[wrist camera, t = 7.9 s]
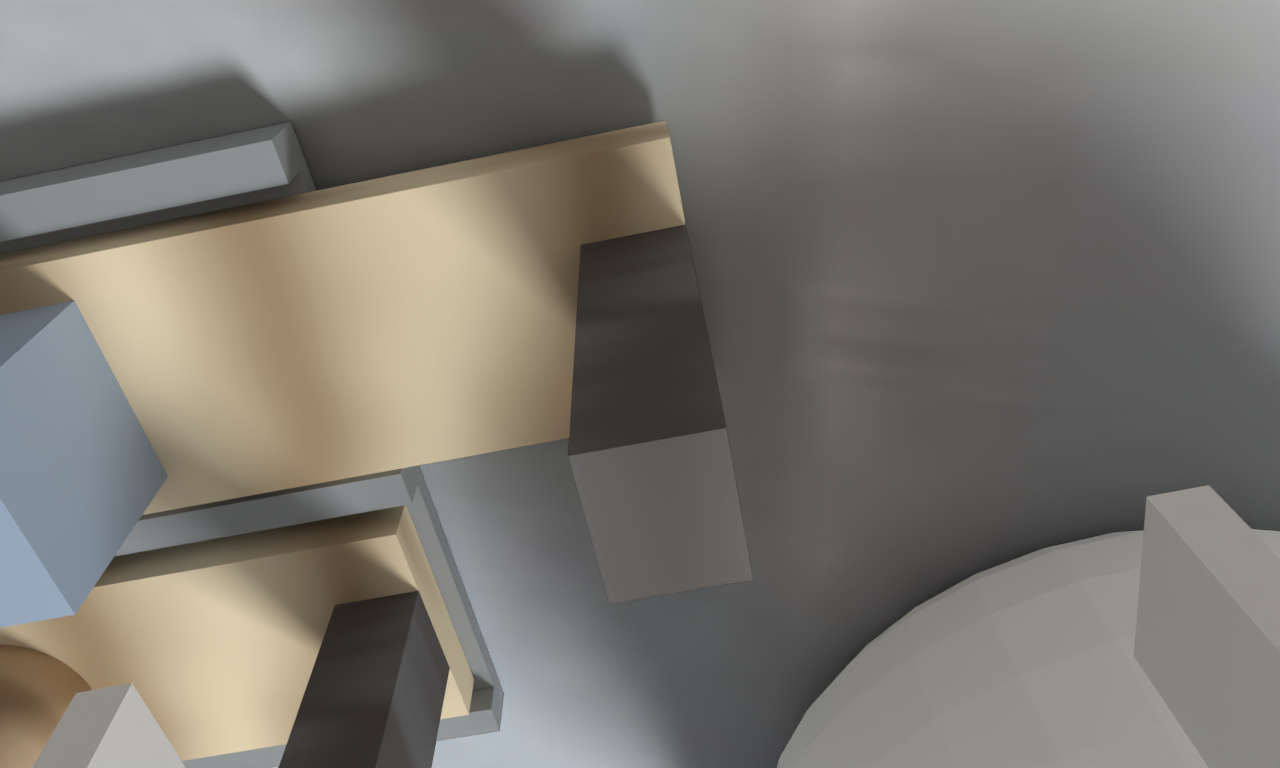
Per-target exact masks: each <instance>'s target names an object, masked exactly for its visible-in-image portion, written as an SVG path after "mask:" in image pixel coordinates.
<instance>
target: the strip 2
mask: <svg viewBox="0 0 1280 768" xmlns="http://www.w3.org/2000/svg"><path fill="white" fill-rule="evenodd" d="M0 644H4V645H14V646H21V647H25V648H29V649H33V650H36V651H39V652H42V653H45V654H47V655H49V656H52V657H54V658H56V659H58V660H59V661H61V662H63V663H65V664H66V665H68V666H69V667H71V668H72V669H73V670H75V671H76V672H77V673H78V674H79V675H80V676H81V677H82V678H83V679H84V680H85V681H86V682H87V683H88V685H89V686H90V687H91V689H92V690H96V689H101V688H107V687H112V686H117V685H123V684H128V683H133V685H134V687H135V688H136V690H137V691H138V693H139V695H140V696H141V698H142V699H143V701H144V702H145V704H146V706H147V707H148V709H149V710H150V712H151V713H152V715H153V717H154V718H155V720H156V721H157V723H158V725H159V726H160V728H161V729H162V731H163V732H164V734H165V736H166V737H167V739H168V740H169V742H170V744H171V745H172V747H173V748H174V750H175V751H176V753H177V755H178V756H179V758H180V759H181V761H185V760H191V759H197V758H204V757H210V756H216V755H222V754H228V753H235V752H241V751H247V750H253V749H259V748H266V747H272V746H278V745H284V744H287V745H286V747H285V750H284V753H283V756H282V759H281V762H280V765H279V768H431V766H432V761H433V756H434V750H435V745H436V739H437V734H438V729H439V723H440V719H446V718H452V717H458V716H464V715H469V710H470V703H471V697H472V690H473V684H474V678H473V675H472V673H471V670H470V667H469V665H468V662H467V660H466V657H465V655H464V652H463V649H462V647H461V644H460V642H459V639H458V637H457V634H456V631H455V629H454V626H453V624H452V621H451V619H450V616H449V613H448V611H447V608H446V606H445V603H444V601H443V598H442V595H441V593H440V590H439V588H438V585H437V583H436V580H435V578H434V575H433V572H432V570H431V567H430V565H429V562H428V560H427V557H426V554H425V552H424V549H423V547H422V544H421V542H420V539H419V536H418V534H417V531H416V529H415V526H414V524H413V521H412V518H411V516H410V513H409V511H408V508H407V506H406V505H403V506H397V507H392V508H386V509H380V510H375V511H369V512H363V513H358V514H352V515H346V516H341V517H335V518H330V519H324V520H318V521H313V522H307V523H301V524H296V525H290V526H284V527H279V528H273V529H267V530H262V531H256V532H250V533H245V534H239V535H234V536H228V537H222V538H217V539H211V540H205V541H200V542H194V543H188V544H183V545H177V546H171V547H166V548H160V549H154V550H149V551H143V552H137V553H132V554H126V555H121V556H115V557H114V558H113V559H112V561H111V562H110V564H109V565H108V567H107V568H106V569H105V571H104V572H103V574H102V575H101V577H100V578H99V580H98V581H97V583H96V584H95V586H94V587H93V589H92V590H91V592H90V593H89V595H88V596H87V598H86V599H85V601H84V602H83V604H82V605H81V607H80V608H79V610H78V611H77V613H76V614H75V615H70V616H64V617H59V618H53V619H47V620H41V621H36V622H30V623H24V624H18V625H12V626H7V627H1V628H0Z"/></svg>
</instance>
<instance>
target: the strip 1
mask: <svg viewBox="0 0 1280 768" xmlns="http://www.w3.org/2000/svg"><path fill="white" fill-rule="evenodd" d="M70 301H75V302H76V304H77V306H78V308H79V310H80V312H81V314H82V316H83V317H84V319H85V321H86V323H87V325H88V327H89V329H90V331H91V332H92V334H93V336H94V338H95V340H96V342H97V344H98V346H99V348H100V349H101V351H102V353H103V355H104V357H105V359H106V361H107V363H108V364H109V366H110V368H111V370H112V372H113V374H114V376H115V378H116V379H117V381H118V383H119V385H120V387H121V389H122V391H123V393H124V395H125V396H126V398H127V400H128V402H129V404H130V406H131V408H132V410H133V411H134V413H135V415H136V417H137V419H138V421H139V423H140V425H141V426H142V428H143V430H144V432H145V434H146V436H147V438H148V440H149V441H150V443H151V445H152V447H153V449H154V451H155V453H156V455H157V457H158V458H159V460H160V462H161V464H162V466H163V468H164V470H165V472H166V473H167V475H168V477H167V479H166V480H165V482H164V483H163V485H162V486H161V488H160V489H159V491H158V492H157V494H156V495H155V497H154V498H153V500H152V501H151V503H150V504H149V505H148V507H147V508H146V510H145V511H144V513H143V514H142V515H145V514H151V513H156V512H162V511H168V510H173V509H179V508H184V507H190V506H195V505H201V504H206V503H212V502H218V501H223V500H229V499H234V498H240V497H245V496H251V495H257V494H262V493H268V492H273V491H279V490H284V489H290V488H295V487H301V486H307V485H312V484H318V483H323V482H329V481H334V480H340V479H346V478H351V477H357V476H362V475H368V474H373V473H379V472H385V471H390V470H396V469H401V468H407V467H412V466H418V465H423V464H429V463H435V462H440V461H446V460H451V459H457V458H462V457H468V456H474V455H479V454H485V453H490V452H496V451H501V450H507V449H512V448H518V447H524V446H529V445H535V444H540V443H546V442H551V441H557V440H563V439H568V438H569V449H568V458H569V461H570V465H571V469H572V472H573V476H574V479H575V483H576V487H577V490H578V494H579V497H580V501H581V505H582V508H583V512H584V515H585V519H586V523H587V526H588V530H589V533H590V537H591V541H592V544H593V548H594V552H595V555H596V559H597V562H598V566H599V570H600V573H601V577H602V580H603V584H604V588H605V591H606V595H607V598H608V602H609V604H613V603H619V602H625V601H631V600H637V599H643V598H649V597H655V596H661V595H667V594H673V593H679V592H685V591H691V590H697V589H703V588H708V587H714V586H720V585H726V584H732V583H738V582H744V581H750V580H753V577H752V571H751V565H750V560H749V554H748V548H747V543H746V537H745V531H744V526H743V520H742V514H741V509H740V503H739V497H738V492H737V486H736V480H735V475H734V469H733V463H732V458H731V452H730V446H729V441H728V435H727V429H726V424H725V419H724V414H723V409H722V404H721V399H720V394H719V389H718V384H717V379H716V374H715V369H714V364H713V359H712V354H711V349H710V344H709V339H708V334H707V329H706V324H705V319H704V314H703V309H702V304H701V299H700V294H699V289H698V284H697V279H696V274H695V269H694V264H693V259H692V254H691V249H690V244H689V239H688V234H687V229H686V224H685V219H684V213H683V207H682V202H681V196H680V191H679V185H678V179H677V174H676V168H675V163H674V157H673V152H672V146H671V140H670V135H669V130H668V125H667V121H666V120H665V121H660V122H655V123H650V124H645V125H640V126H635V127H630V128H625V129H620V130H615V131H610V132H605V133H600V134H595V135H590V136H586V137H581V138H576V139H571V140H566V141H561V142H556V143H551V144H546V145H541V146H536V147H531V148H526V149H521V150H516V151H511V152H506V153H501V154H496V155H491V156H486V157H481V158H476V159H471V160H466V161H461V162H456V163H451V164H446V165H441V166H436V167H431V168H426V169H421V170H416V171H411V172H406V173H401V174H396V175H392V176H387V177H382V178H377V179H372V180H367V181H362V182H357V183H352V184H347V185H342V186H337V187H332V188H327V189H322V190H317V191H312V192H307V193H302V194H297V195H292V196H287V197H282V198H277V199H272V200H267V201H262V202H257V203H252V204H247V205H242V206H237V207H232V208H227V209H222V210H217V211H212V212H207V213H202V214H197V215H193V216H188V217H183V218H178V219H173V220H168V221H163V222H158V223H153V224H148V225H143V226H138V227H133V228H128V229H123V230H118V231H113V232H108V233H103V234H98V235H93V236H88V237H83V238H78V239H73V240H68V241H63V242H58V243H53V244H48V245H43V246H38V247H33V248H28V249H23V250H18V251H13V252H8V253H3V254H0V315H3V314H9V313H14V312H19V311H24V310H29V309H34V308H39V307H44V306H49V305H54V304H59V303H65V302H70Z"/></svg>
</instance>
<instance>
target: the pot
mask: <svg viewBox="0 0 1280 768" xmlns="http://www.w3.org/2000/svg"><path fill="white" fill-rule="evenodd" d="M1252 530H1253V531H1254V532H1255V533H1256V534H1257V535H1258V536H1259V537H1260V538H1261V539H1262V540H1263V542H1264V543H1265V544H1266V545H1267V546H1268V547H1269V548H1270V549H1271V550H1272V551H1273V552H1274V553H1275V554H1276V555H1277V556H1278V557H1279V558H1280V531H1270V530H1258V529H1252ZM1143 534H1144V530H1140V531H1127V532H1114V533H1109V534H1105V535H1100V536H1096V537H1091V538H1087V539H1082V540H1078V541H1074V542H1069V543H1065V544H1060V545H1056V546H1052V547H1047V548H1043V549H1040V550H1037V551H1035V552H1032V553H1029V554H1027V555H1024V556H1021V557H1019V558H1016V559H1014V560H1011V561H1008V562H1006V563H1003V564H1000V565H998V566H995V567H992V568H990V569H987V570H985V571H982V572H979V573H977V574H974V575H973V576H971V577H969V578H967V579H965V580H964V581H962V582H960V583H958V584H956V585H955V586H953V587H951V588H949V589H947V590H946V591H944V592H942V593H940V594H938V595H936V596H935V597H933V598H931V599H929V600H927V601H926V602H924V603H922V604H920V605H918V606H917V607H915V608H914V609H912V610H911V611H910V612H909V613H907V614H906V615H905V616H903V617H902V618H901V619H900V620H898V621H897V622H896V623H894V624H893V625H892V626H891V627H889V628H888V629H887V630H885V631H884V632H883V633H882V634H880V635H879V636H878V637H876V638H875V639H874V640H873V641H871V642H870V643H869V644H867V645H866V646H865V647H864V648H863V649H862V650H861V652H860V653H859V654H858V655H857V656H856V657H855V658H854V659H853V660H852V661H851V662H850V663H849V664H848V665H847V666H846V668H845V669H844V670H843V671H842V672H841V673H840V674H839V675H838V676H837V677H836V679H835V680H834V681H833V682H832V683H831V684H830V685H829V686H828V687H827V689H826V690H825V691H824V692H823V693H822V694H821V695H820V696H819V697H818V698H817V700H816V701H815V702H814V703H813V704H812V705H811V706H810V707H809V708H808V710H807V711H806V713H805V715H804V716H803V718H802V720H801V722H800V723H799V725H798V727H797V728H796V730H795V732H794V734H793V735H792V737H791V739H790V740H789V742H788V744H787V746H786V747H785V749H784V751H783V752H782V754H781V756H780V758H779V761H778V765H777V768H1209V767H1208V766H1207V764H1206V763H1205V761H1204V760H1203V758H1202V757H1201V756H1200V754H1199V753H1198V751H1197V750H1196V748H1195V747H1194V745H1193V744H1192V742H1191V741H1190V739H1189V738H1188V736H1187V735H1186V733H1185V732H1184V730H1183V729H1182V727H1181V726H1180V724H1179V723H1178V721H1177V720H1176V718H1175V717H1174V715H1173V714H1172V712H1171V711H1170V709H1169V708H1168V706H1167V705H1166V703H1165V702H1164V700H1163V699H1162V697H1161V696H1160V695H1159V693H1158V692H1157V690H1156V689H1155V687H1154V686H1153V684H1152V683H1151V681H1150V680H1149V678H1148V677H1147V675H1146V674H1145V672H1144V671H1143V669H1142V668H1141V666H1140V665H1139V663H1138V662H1137V660H1136V659H1135V657H1134V645H1135V633H1136V620H1137V608H1138V595H1139V583H1140V571H1141V558H1142V546H1143Z"/></svg>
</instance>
